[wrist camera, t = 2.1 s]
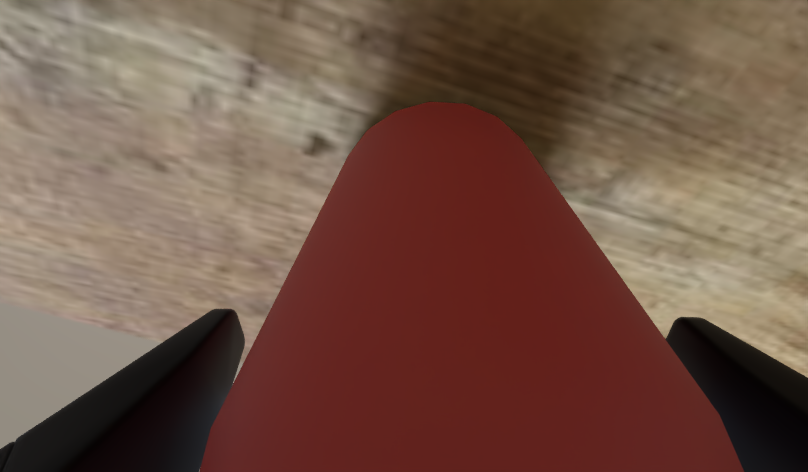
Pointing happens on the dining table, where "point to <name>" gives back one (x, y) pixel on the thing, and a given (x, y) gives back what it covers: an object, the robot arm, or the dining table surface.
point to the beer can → (459, 328)
